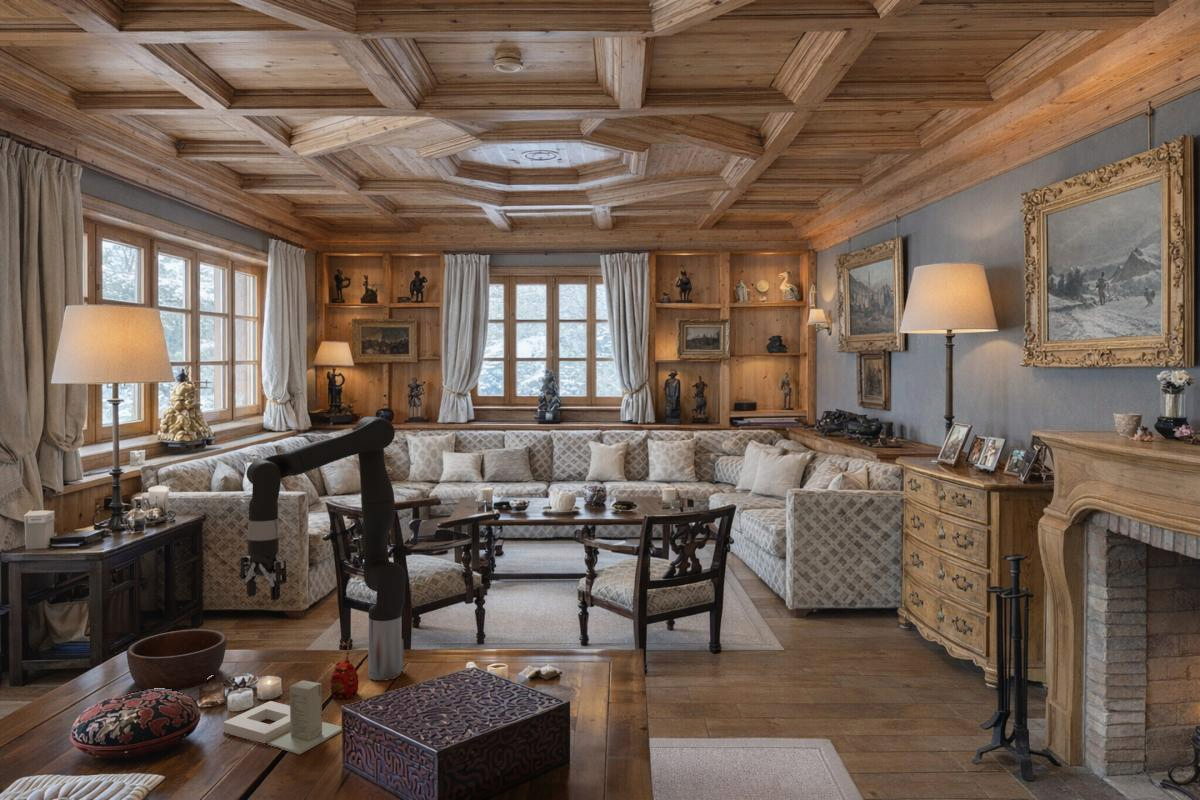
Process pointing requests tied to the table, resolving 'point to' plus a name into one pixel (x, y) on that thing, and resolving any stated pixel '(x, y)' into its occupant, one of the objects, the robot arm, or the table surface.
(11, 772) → the table surface
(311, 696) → the skincare box
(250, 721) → the holder block
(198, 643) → the wooden bowl
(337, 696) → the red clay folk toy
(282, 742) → the green tile
